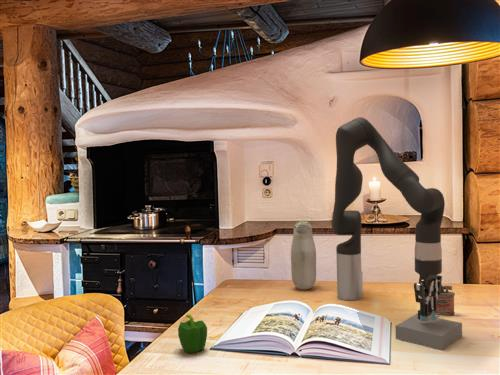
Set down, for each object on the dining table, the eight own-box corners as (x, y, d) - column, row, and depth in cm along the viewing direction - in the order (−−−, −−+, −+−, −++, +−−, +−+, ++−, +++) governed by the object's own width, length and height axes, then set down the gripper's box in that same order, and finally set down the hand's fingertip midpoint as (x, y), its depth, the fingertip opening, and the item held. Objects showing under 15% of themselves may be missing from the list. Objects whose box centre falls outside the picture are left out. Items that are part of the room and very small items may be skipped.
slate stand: (417, 326, 160) (417, 313, 159) (462, 336, 150) (462, 322, 150) (395, 338, 150) (395, 325, 149) (442, 350, 140) (442, 336, 140)
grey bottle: (289, 286, 212) (287, 220, 210) (313, 285, 213) (312, 218, 211) (294, 292, 202) (292, 223, 200) (319, 291, 203) (317, 222, 201)
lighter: (429, 314, 170) (428, 285, 170) (429, 311, 173) (428, 283, 173) (454, 316, 168) (454, 287, 167) (454, 313, 171) (454, 284, 170)
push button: (434, 315, 153) (434, 283, 152) (444, 321, 148) (444, 287, 147) (414, 317, 152) (414, 284, 151) (423, 323, 147) (423, 289, 146)
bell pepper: (210, 353, 143) (209, 318, 142) (181, 357, 141) (180, 322, 140) (204, 343, 151) (203, 310, 150) (177, 346, 149) (175, 313, 148)
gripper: (426, 251, 156) (426, 305, 157) (404, 259, 146) (405, 317, 147) (450, 254, 151) (451, 310, 152) (429, 262, 141) (430, 322, 142)
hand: (428, 313), depth 149 cm, fingers closed on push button, 5 cm apart
